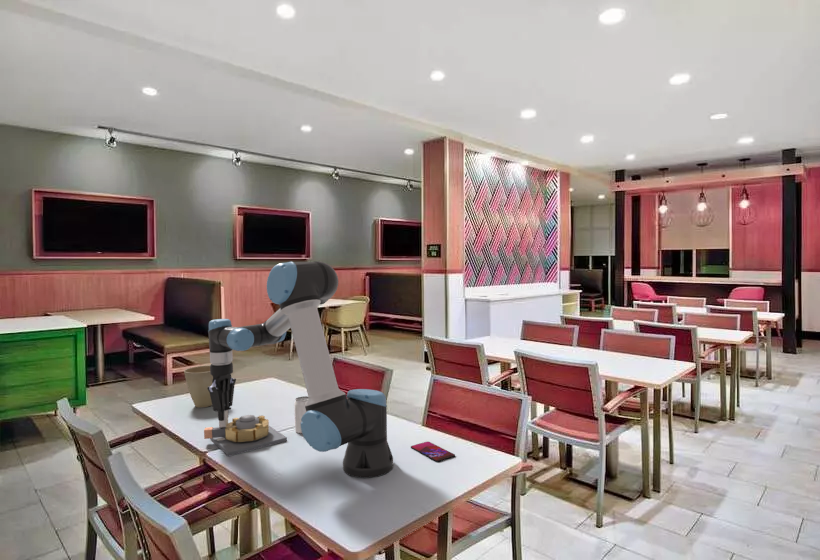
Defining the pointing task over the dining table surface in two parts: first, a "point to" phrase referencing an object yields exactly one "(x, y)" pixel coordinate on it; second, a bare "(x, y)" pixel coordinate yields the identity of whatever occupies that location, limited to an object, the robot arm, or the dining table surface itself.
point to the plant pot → (199, 385)
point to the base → (241, 447)
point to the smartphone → (433, 451)
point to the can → (299, 412)
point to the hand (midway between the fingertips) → (223, 428)
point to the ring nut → (239, 431)
